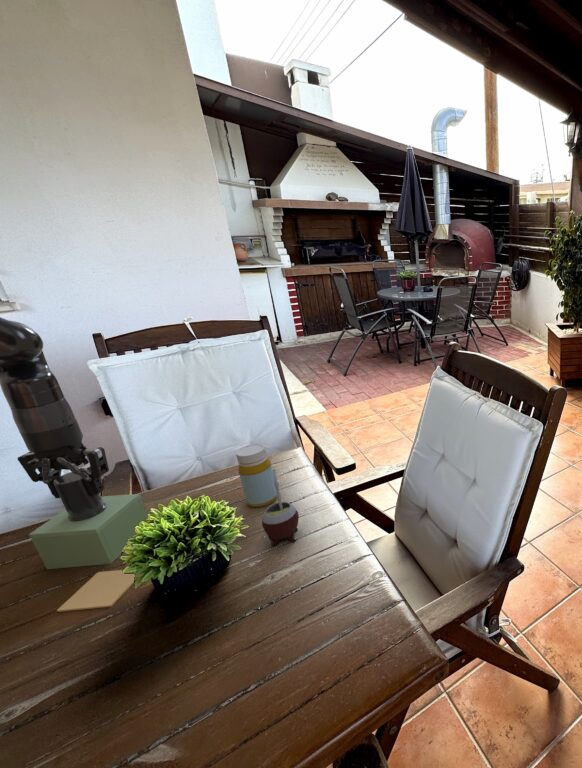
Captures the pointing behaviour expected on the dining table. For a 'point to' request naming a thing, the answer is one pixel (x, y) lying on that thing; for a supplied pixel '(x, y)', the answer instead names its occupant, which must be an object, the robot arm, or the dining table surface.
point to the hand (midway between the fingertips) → (80, 494)
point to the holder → (78, 497)
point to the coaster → (99, 591)
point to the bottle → (256, 475)
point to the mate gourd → (280, 519)
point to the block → (89, 534)
